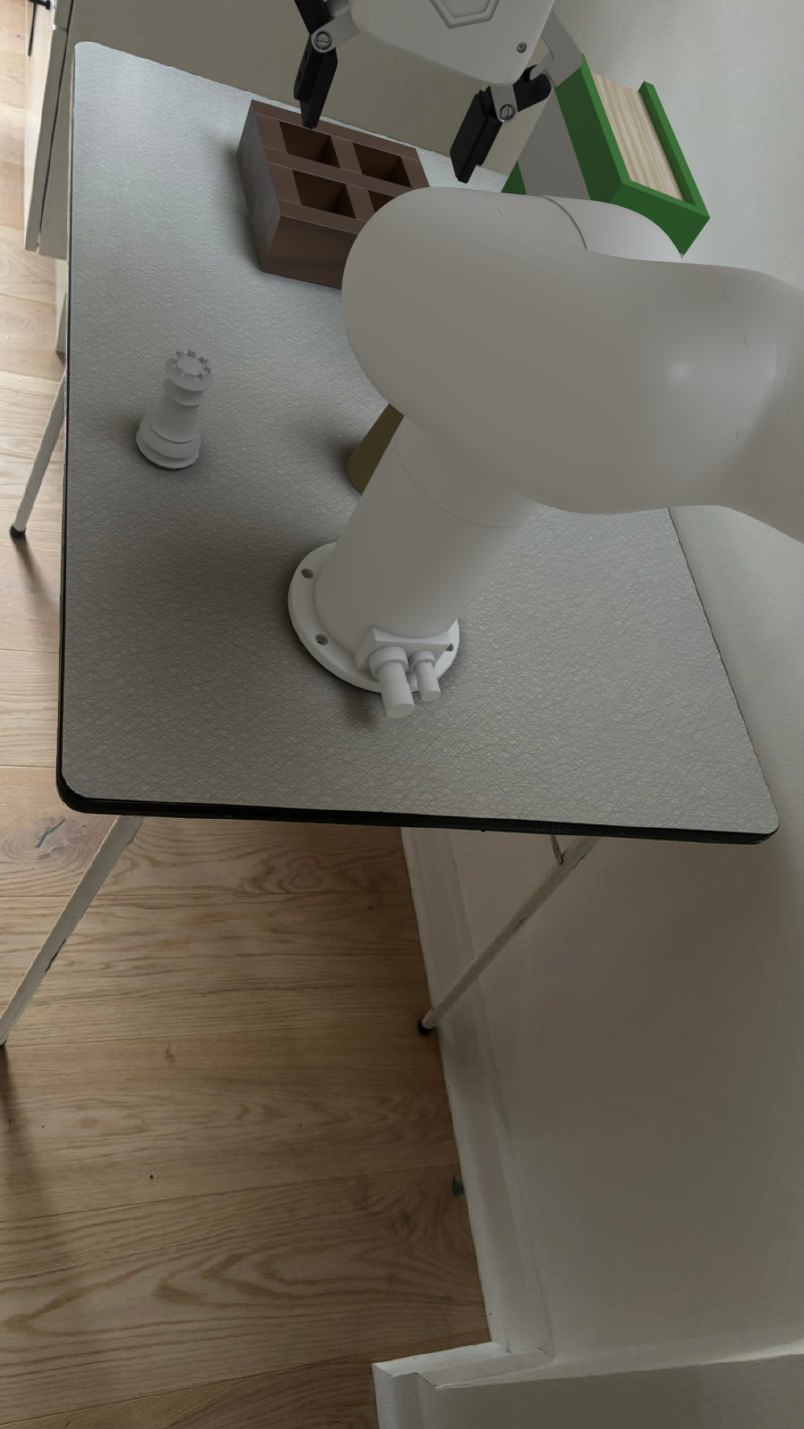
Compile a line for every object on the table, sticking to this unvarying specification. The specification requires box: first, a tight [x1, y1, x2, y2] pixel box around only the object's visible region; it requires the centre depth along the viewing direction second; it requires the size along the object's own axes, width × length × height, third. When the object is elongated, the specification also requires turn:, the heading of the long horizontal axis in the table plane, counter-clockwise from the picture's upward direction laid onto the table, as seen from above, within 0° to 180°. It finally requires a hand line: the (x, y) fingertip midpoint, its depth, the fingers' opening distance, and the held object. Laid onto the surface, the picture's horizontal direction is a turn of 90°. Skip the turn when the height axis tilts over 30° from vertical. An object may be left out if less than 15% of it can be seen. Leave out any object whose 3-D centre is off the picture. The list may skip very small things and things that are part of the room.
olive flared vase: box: [346, 402, 404, 495], centre depth 75 cm, size 6×6×11 cm
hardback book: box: [500, 52, 711, 260], centre depth 83 cm, size 18×7×24 cm, turn 6°
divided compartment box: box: [235, 98, 431, 290], centre depth 93 cm, size 17×17×6 cm
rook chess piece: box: [135, 347, 214, 470], centre depth 69 cm, size 4×4×8 cm
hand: (384, 143), depth 59 cm, fingers open, 9 cm apart
